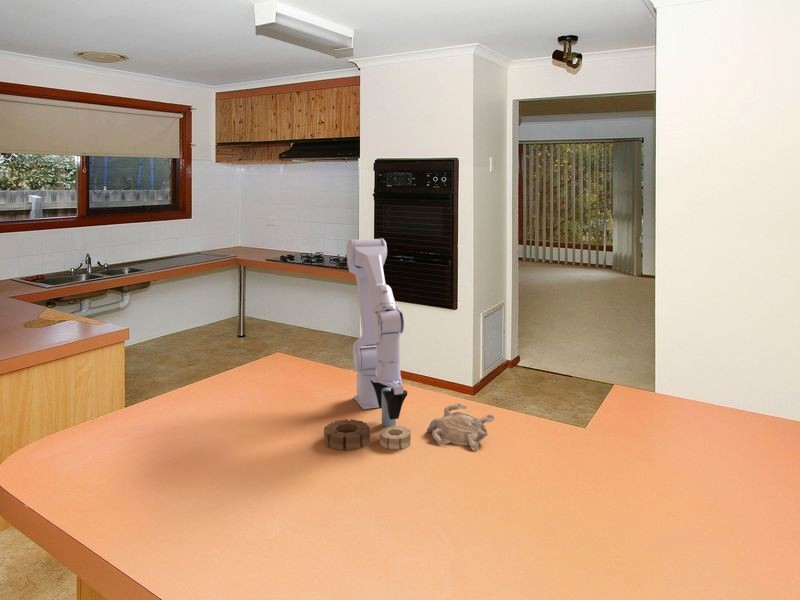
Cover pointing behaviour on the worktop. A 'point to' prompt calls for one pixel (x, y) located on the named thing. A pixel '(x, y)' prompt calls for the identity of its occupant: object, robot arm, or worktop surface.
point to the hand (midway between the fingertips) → (388, 412)
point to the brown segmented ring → (347, 434)
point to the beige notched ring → (395, 437)
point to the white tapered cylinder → (386, 412)
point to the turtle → (459, 427)
